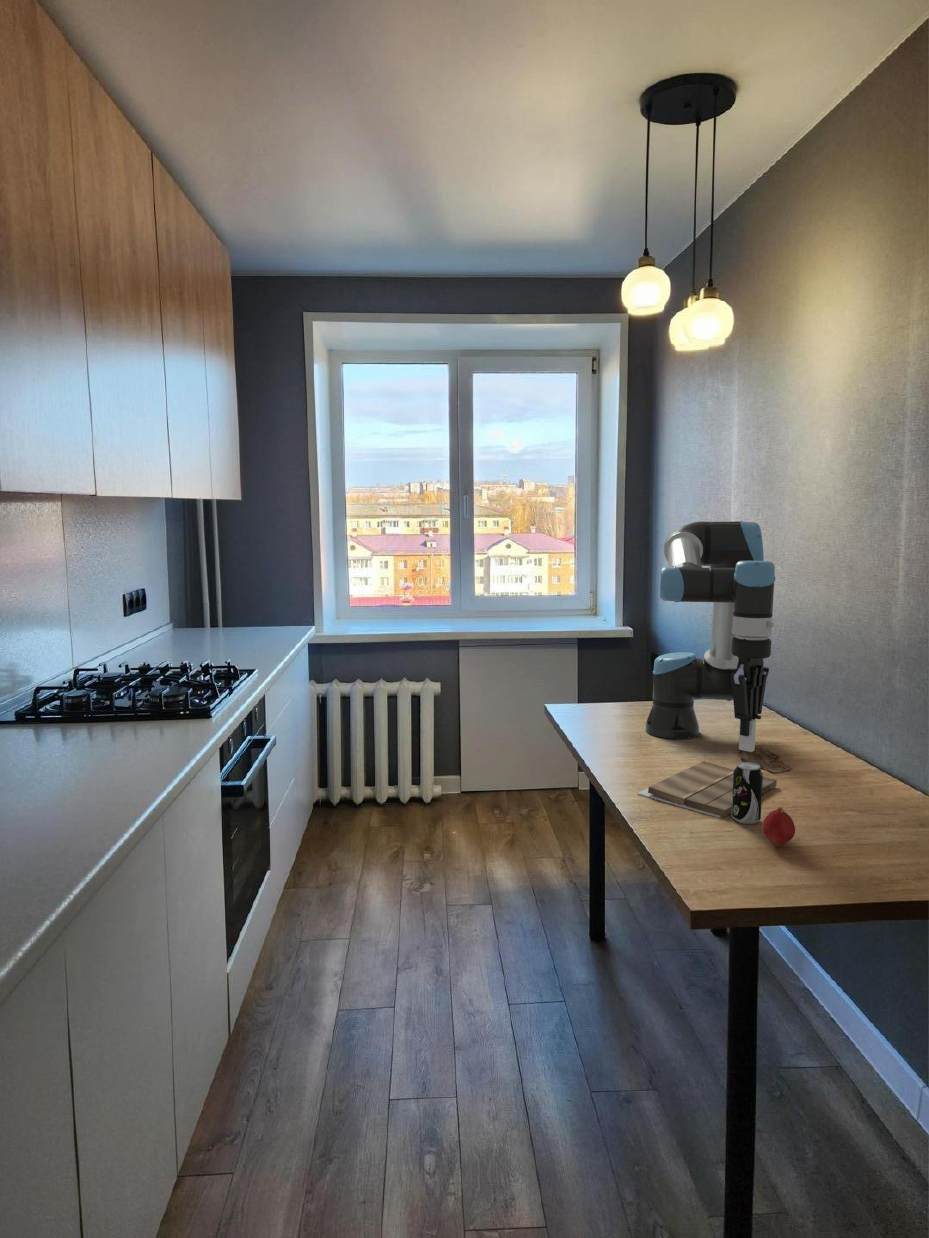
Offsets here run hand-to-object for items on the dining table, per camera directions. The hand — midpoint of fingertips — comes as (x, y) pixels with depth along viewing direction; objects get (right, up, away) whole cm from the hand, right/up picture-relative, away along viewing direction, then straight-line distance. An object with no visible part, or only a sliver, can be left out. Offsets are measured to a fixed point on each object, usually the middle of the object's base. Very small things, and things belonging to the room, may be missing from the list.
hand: (746, 749), depth 159 cm
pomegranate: (+2, -17, -11) cm, 20 cm away
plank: (-4, -12, +21) cm, 25 cm away
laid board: (+2, -13, +15) cm, 20 cm away
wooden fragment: (+19, -10, +44) cm, 49 cm away
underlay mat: (-2, -13, +19) cm, 23 cm away
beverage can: (0, -15, +2) cm, 15 cm away
